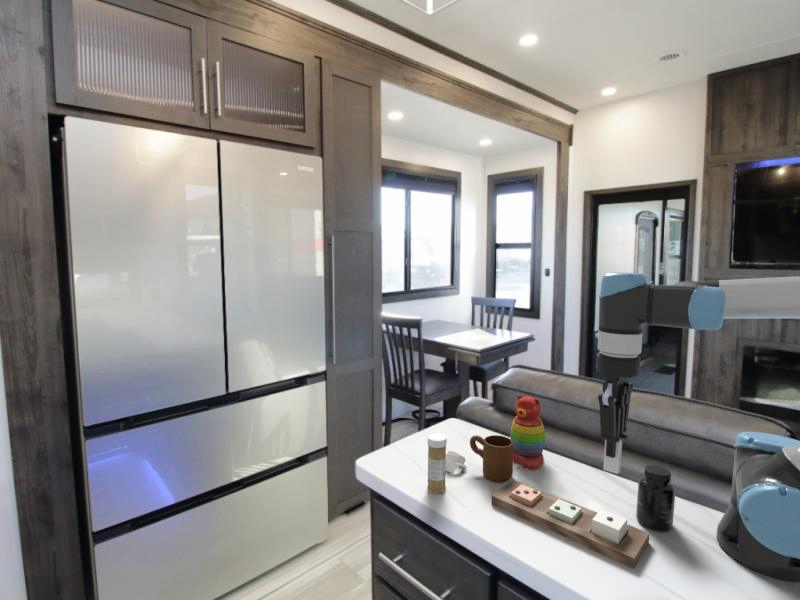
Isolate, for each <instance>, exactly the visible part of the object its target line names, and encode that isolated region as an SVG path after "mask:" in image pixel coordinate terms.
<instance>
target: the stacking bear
mask: <svg viewBox="0 0 800 600" xmlns="http://www.w3.org/2000/svg"><path fill="white" fill-rule="evenodd" d="M514 411H515V414H516V416H515V417H514V419H513V420H512V424H511V428H510V434H509V437H510V438H509V439H511V440H512V442H513V463H514V462H515V463H518V464H519V465H521V466H522V467H523V468H525V469H527V470H530V471H531V470H532V471H533V470H537V469H539V468H541V467H542V466H543V464H544V461H545V459H544V455H543V451H544V447H545V444H546V432H545V427H544V424H543V422H542V419H541V418H540V417H539V415H540V414H541V402H540V400H539V399H538V398H535V397H532V396H523V395H522V394H520V395H518V396H517V401H516V402H515V405H514Z"/></svg>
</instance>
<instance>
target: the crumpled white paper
mask: <svg viewBox="0 0 800 600" xmlns="http://www.w3.org/2000/svg"><path fill="white" fill-rule="evenodd" d="M465 462H466V457H465V456H463V455H461V454H460V453H458V452H457V451H454V450H446V473H447V472H448V473H451V474H454V473H455V471H456V470H457V469H458V468H463V469H467V468H468V466H466V464H465Z"/></svg>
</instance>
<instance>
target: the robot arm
mask: <svg viewBox="0 0 800 600" xmlns="http://www.w3.org/2000/svg"><path fill="white" fill-rule="evenodd" d="M647 282H648V281H647V279H646V275H645V274H644V273H643V272H642V273H641V272H640V273H639V272H607V273H605V274H604V275H603V276H602V278H601V282H600V283H601V284H600V285H601V286H600V295H599V296H598V297H599V299H598V300H599V303H598V305H599V307H598V308H599V309H598V330H597V331H598V332H597V333H595V338H597V350H598V353H596V365H595V367H596V369H595V370H596V371H597V372H598V373H600V374H601V375H603V376H605V380H604V382H603V383H602V392H603V393H598V395H597V399H598V400H597V401H598V405H599V417H600V418H599V419H600V423H599V425H600V435H599V438H601V439H602V440H604V447H603V448H604V449H603V450H604V451H603V467H602V469H603V471H607V472H611V473H612V474H616V475H619V473H620V472H621V469H622V468H621V467H622V465H621V464H622V451H623V450H622V449H623V440H627V439H628V436H629V435H626V434H624V433H627V430H628V429H627V428H628V419H629V412H630V405H631V397H632V392H633V388H634V383H633V382H629V381H630V379H631V378H636V377H638V376H640V374H641V362H642V361H641V359H642V358H641V357H640V356H639V355H641V353H642V348H643V347H642V346H643V326H644V325H646V326H659V327H670V328H680V329H689V330H695V331H701V330H702V331H707V330H708V331H718V330H720V329H721V328H722V327H723V324H724V320H728V319H729V320H731V319H732V320H734V319H736V320H737V319H739V320H741V319H742V320H748V319H750V320H751V319H752V320H754V319H756V320H759V319H762V320H763V319H766V320H767V319H768V320H771V319H772V320H773V319H774V320H776V319H778V320H779V319H781V320H782V319H789V320H790V319H791V320H792V319H794V320H795V319H800V276H781V277H780V276H779V277H776V276H775V277H760V278H759V277H758V278H739V279H719V280H701V281H698V280H697V281H695V280H681V281H679V282H676V283H674V284H651V283H647ZM733 448H735V449H734V458H733V459H734V461H733V471H732V482H731V493H730V504H729V505H728V507H727V508H726V510H725V513H723V516H722V518H721V519H720V521H719V522H718V524H717V528H716V541H718V542H717V544H718V543H719V544H718V546H719V547H720V546H721V547H722V548H723V549H724V550H725V551H726V552H727V553H728V554H729V555H728V554H727V553H726V552H725V551H724V550H723V549H722V548H721V547H720V548H721V549H722V550H723V551H724V552H725V553H726V554H727V555H728V556H730V555H731V556H732V557H733V558H732V557H731V556H730V557H731V558H732V559H733V560H735V559H736V561H737V562H738V561H739V562H738V563H740V562H741V563H742V564H741V563H740V564H741V565H743V564H744V565H743V566H745V565H746V566H745V567H747V568H749V569H751V570H753V571H755V572H758V573H761V574H763V575H767V576H768V577H772V578H775V579H780V580H784V581H788V582H800V440H799V439H798V440H797V439H794V438H792V437H788V436H787V437H786V436H783V435H778V434H774V433H766V432H759V431H743V432H740V433H738V434H737V436H736V439H735V444H733Z"/></svg>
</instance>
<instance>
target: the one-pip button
mask: <svg viewBox="0 0 800 600" xmlns="http://www.w3.org/2000/svg"><path fill="white" fill-rule="evenodd" d="M627 524H628V518H625V517H623V516H620V515H618V514H615V513H613V512H610V511H607V510H605V509H602V508H600V510H599V511H598V512H597V514H596V516H595V517H594V518H593V519H592V533H593V534H595V535H598V536H600V537H602V538H605V539H607V540H609V541H612V542H614V543H616V544H619V545H620V544H621V543H622V541H623V540H624V538H623V537H624V536H625V534H626V531H627Z"/></svg>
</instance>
